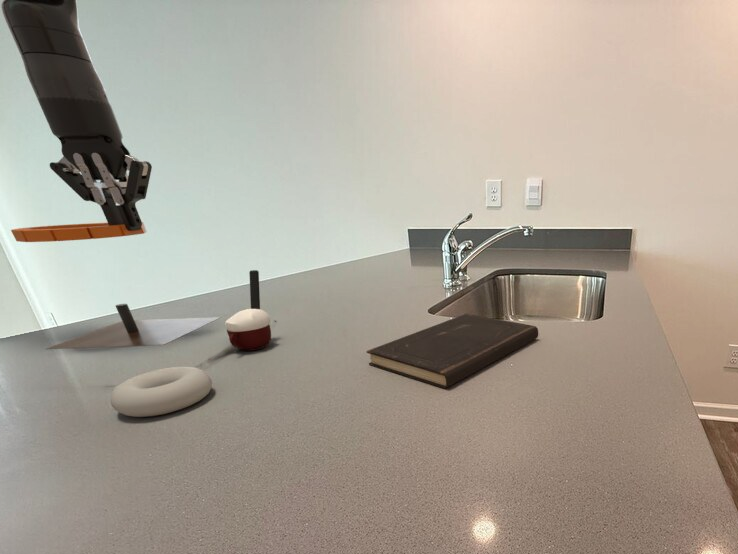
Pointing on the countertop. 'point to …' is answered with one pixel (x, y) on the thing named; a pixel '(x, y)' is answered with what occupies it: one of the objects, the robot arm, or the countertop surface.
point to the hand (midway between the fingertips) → (127, 230)
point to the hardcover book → (452, 349)
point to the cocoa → (250, 322)
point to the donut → (161, 391)
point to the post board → (136, 332)
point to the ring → (73, 232)
